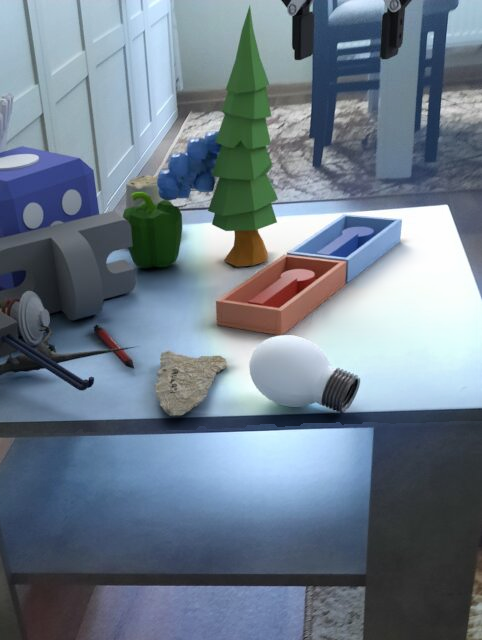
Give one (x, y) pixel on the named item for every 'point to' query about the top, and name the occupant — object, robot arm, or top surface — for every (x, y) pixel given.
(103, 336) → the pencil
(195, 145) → the grapes
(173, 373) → the stone tool
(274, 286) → the red spoon
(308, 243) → the blue bin
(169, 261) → the bell pepper
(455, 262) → the top surface
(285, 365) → the light bulb
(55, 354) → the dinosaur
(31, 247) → the bracket
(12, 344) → the dark blue hooked rod
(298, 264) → the red bin
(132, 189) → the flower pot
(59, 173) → the toy
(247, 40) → the decorative tree
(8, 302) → the shock absorber
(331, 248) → the blue spoon
